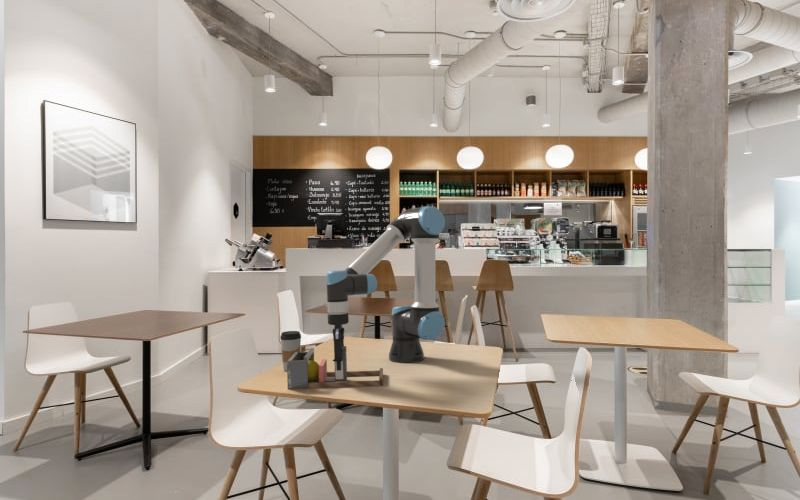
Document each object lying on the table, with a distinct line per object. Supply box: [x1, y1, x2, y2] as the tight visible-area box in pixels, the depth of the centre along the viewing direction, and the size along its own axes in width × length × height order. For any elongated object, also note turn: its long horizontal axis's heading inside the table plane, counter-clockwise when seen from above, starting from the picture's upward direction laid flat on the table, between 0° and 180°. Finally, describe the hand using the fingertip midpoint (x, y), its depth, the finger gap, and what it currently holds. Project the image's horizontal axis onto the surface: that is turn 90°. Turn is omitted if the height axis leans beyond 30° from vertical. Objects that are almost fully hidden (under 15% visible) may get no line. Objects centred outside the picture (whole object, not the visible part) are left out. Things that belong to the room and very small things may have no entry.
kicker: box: [318, 345, 348, 382], centre depth 174 cm, size 9×10×12 cm
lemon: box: [308, 360, 319, 383], centre depth 172 cm, size 11×8×8 cm
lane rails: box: [307, 367, 384, 389], centre depth 174 cm, size 26×15×2 cm, turn 92°
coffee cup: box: [279, 330, 302, 372], centre depth 193 cm, size 8×8×15 cm
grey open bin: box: [286, 347, 315, 389], centre depth 174 cm, size 7×16×11 cm, turn 2°
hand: (340, 376), depth 174 cm, fingers closed on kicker, 4 cm apart
